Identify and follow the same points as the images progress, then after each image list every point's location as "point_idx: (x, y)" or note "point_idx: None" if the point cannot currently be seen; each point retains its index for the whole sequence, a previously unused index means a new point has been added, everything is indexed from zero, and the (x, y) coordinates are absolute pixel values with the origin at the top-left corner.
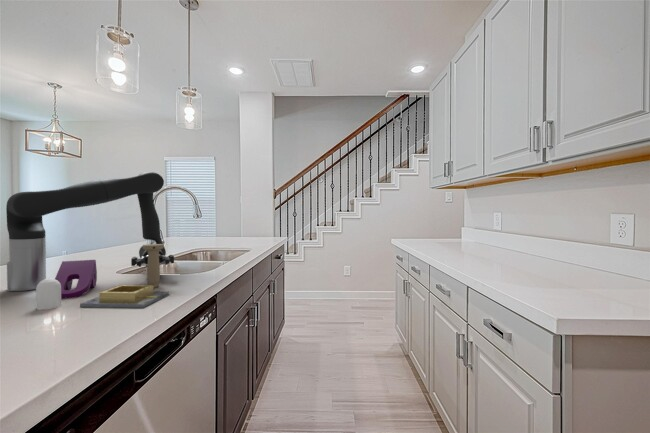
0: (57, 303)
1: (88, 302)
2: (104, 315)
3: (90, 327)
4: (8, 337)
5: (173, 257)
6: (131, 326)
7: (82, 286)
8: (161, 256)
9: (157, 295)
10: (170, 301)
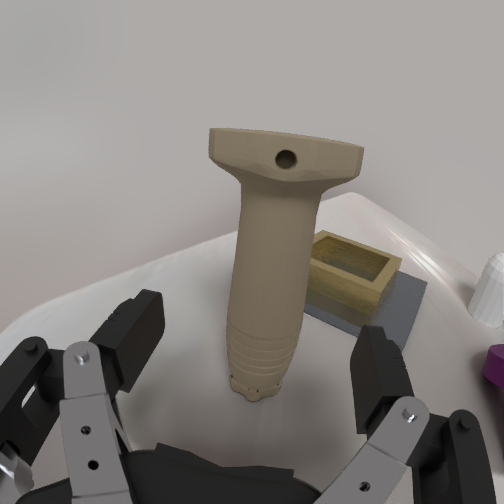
0: (471, 300)
1: (414, 281)
2: None
3: (359, 227)
4: (430, 241)
5: (36, 342)
6: None
7: (500, 351)
8: (110, 413)
9: None
10: None
